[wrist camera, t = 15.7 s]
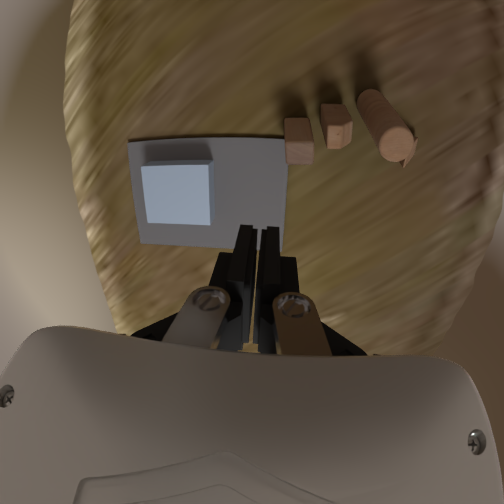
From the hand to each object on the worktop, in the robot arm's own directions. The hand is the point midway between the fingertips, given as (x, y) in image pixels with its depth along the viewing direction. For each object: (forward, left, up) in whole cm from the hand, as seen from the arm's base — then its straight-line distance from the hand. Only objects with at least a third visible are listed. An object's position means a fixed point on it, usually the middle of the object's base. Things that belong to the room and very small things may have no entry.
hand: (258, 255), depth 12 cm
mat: (+6, -9, -25) cm, 27 cm away
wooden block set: (-5, +10, -25) cm, 28 cm away
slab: (+5, -7, -23) cm, 25 cm away
